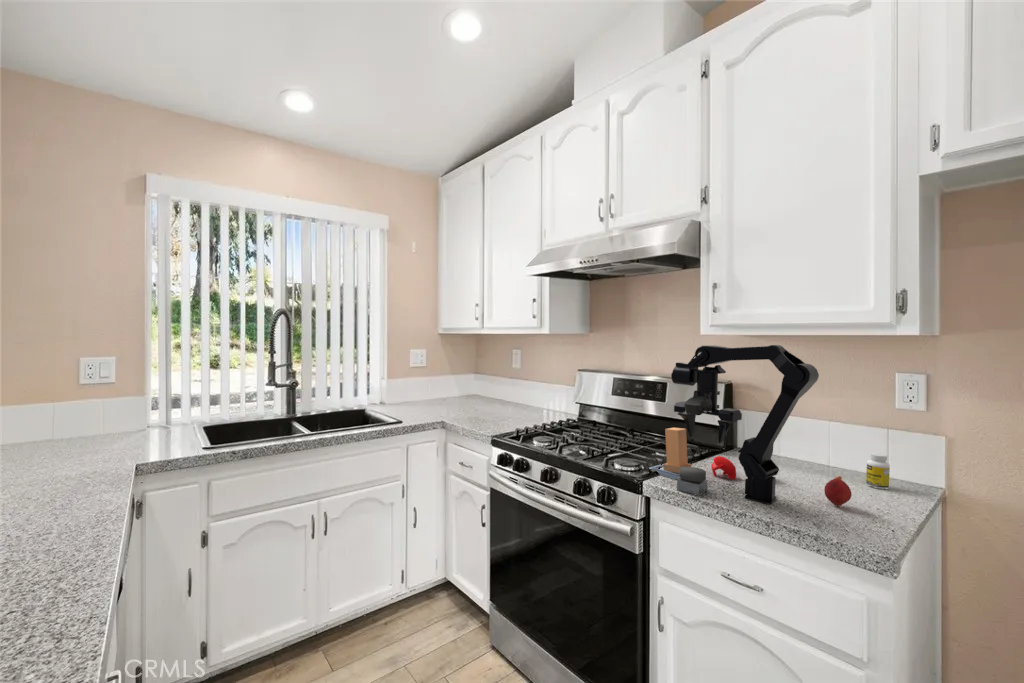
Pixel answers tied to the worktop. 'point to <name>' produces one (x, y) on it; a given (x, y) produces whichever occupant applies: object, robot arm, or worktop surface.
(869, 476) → the supplement bottle
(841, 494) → the onion
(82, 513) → the worktop surface
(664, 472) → the tray
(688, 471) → the wheel
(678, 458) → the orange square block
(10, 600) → the worktop surface
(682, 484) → the axle mount
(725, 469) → the cap
